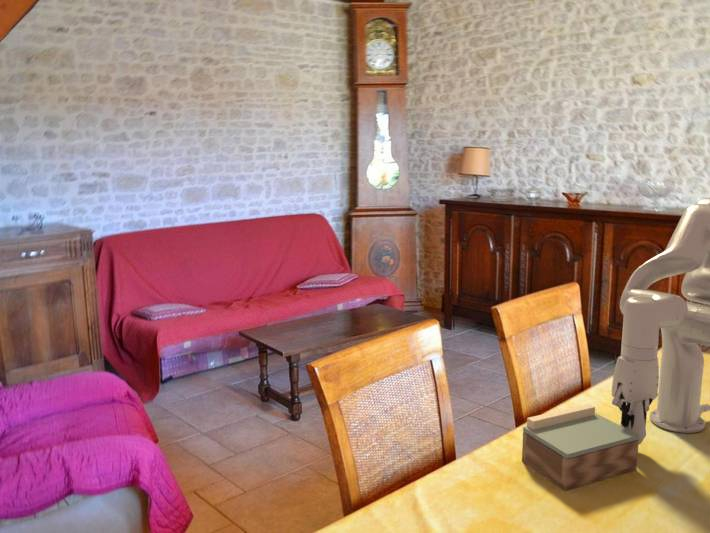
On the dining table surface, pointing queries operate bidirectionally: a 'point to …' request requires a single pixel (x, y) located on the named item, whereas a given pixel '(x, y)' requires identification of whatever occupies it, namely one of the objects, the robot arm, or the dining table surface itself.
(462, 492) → the dining table surface
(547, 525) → the dining table surface
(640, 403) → the salt shaker
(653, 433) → the dining table surface
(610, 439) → the lid
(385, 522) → the dining table surface
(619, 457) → the toolbox
